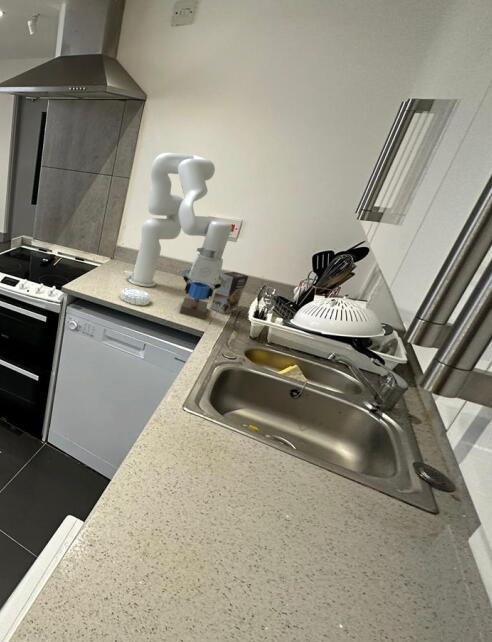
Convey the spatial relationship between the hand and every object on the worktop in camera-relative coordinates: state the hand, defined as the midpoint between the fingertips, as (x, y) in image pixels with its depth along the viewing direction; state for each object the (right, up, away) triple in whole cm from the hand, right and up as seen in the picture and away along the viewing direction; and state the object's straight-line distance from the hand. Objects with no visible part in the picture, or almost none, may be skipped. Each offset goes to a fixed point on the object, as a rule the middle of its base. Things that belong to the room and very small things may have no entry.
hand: (197, 295), depth 159 cm
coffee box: (+16, -6, +10) cm, 20 cm away
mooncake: (-21, -2, +12) cm, 24 cm away
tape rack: (+1, -7, +6) cm, 9 cm away
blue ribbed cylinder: (0, 0, 0) cm, 1 cm away
